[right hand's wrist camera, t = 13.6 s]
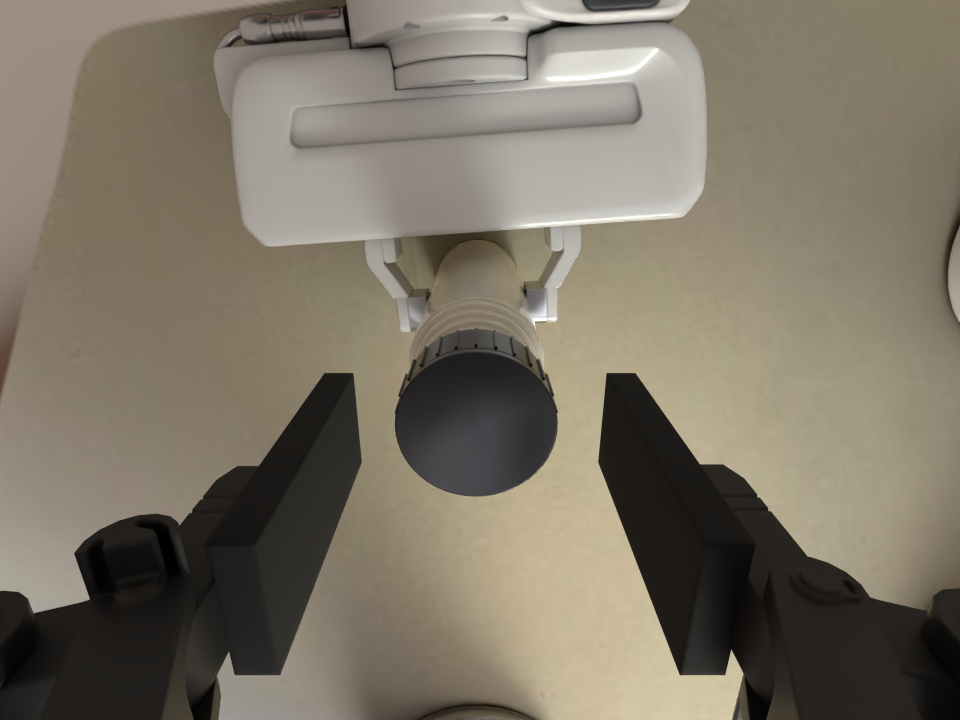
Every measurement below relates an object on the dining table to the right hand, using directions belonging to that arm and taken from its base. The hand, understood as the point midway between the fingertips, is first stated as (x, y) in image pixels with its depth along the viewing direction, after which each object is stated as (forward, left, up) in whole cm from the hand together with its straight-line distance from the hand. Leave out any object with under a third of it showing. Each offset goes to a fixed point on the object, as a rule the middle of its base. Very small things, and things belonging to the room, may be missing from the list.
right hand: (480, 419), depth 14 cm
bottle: (0, 0, -18) cm, 19 cm away
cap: (0, 0, 0) cm, 0 cm away
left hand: (-1, +1, -12) cm, 13 cm away
